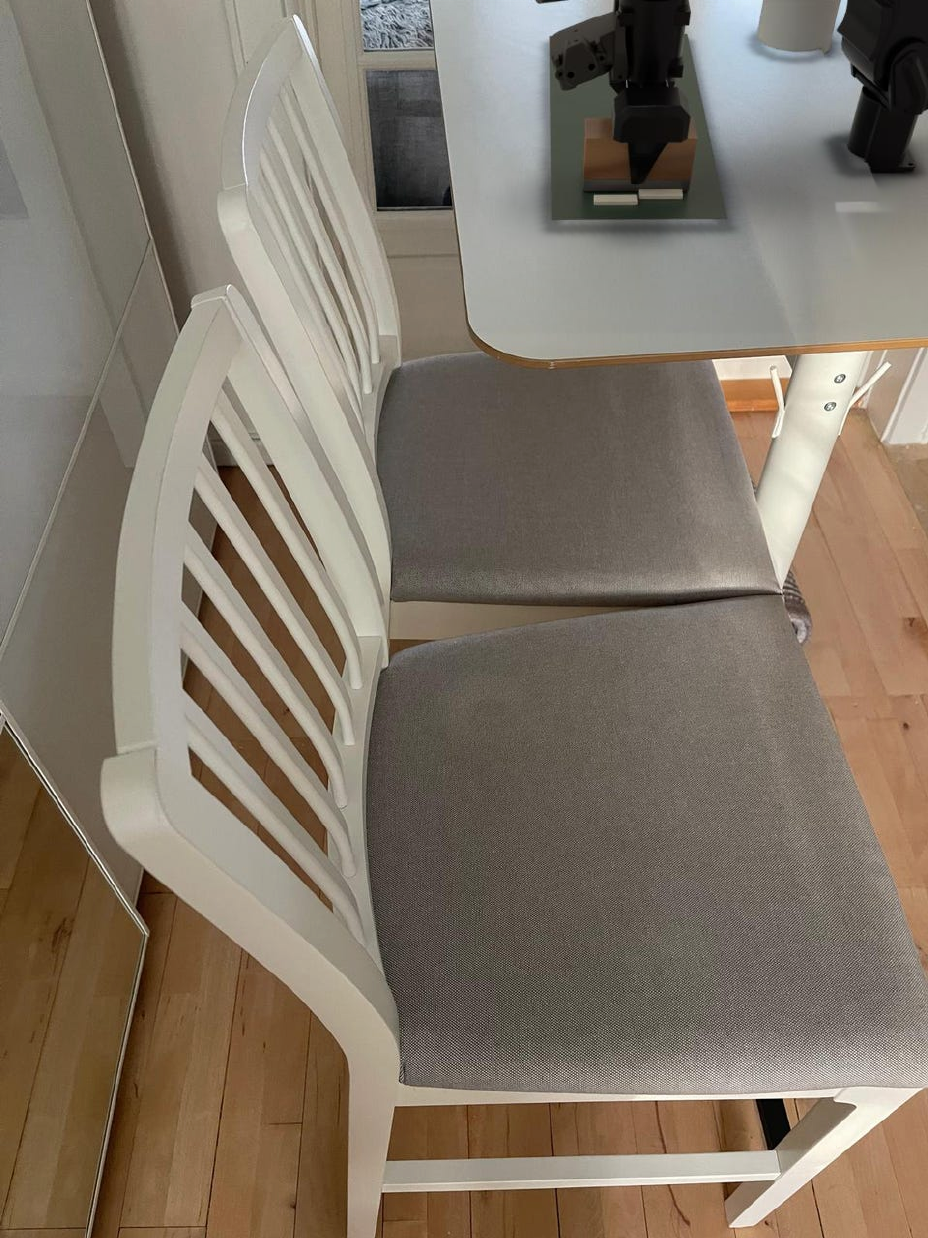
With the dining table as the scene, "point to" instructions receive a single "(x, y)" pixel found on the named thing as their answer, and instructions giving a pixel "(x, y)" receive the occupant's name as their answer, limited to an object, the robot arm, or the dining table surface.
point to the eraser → (611, 161)
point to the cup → (798, 24)
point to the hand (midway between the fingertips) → (635, 171)
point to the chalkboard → (579, 204)
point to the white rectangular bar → (615, 200)
